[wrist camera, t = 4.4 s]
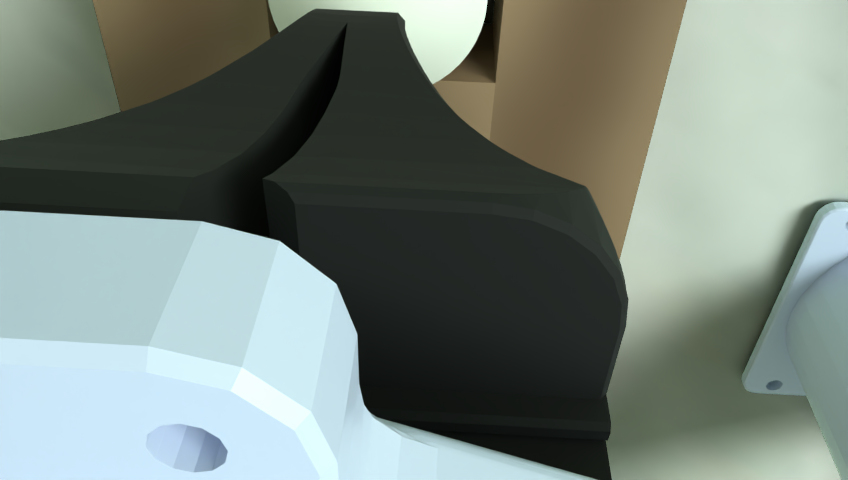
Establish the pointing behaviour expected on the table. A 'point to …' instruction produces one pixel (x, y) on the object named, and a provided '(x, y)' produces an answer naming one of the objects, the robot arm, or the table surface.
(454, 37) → the button two
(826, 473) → the table surface
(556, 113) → the button board
